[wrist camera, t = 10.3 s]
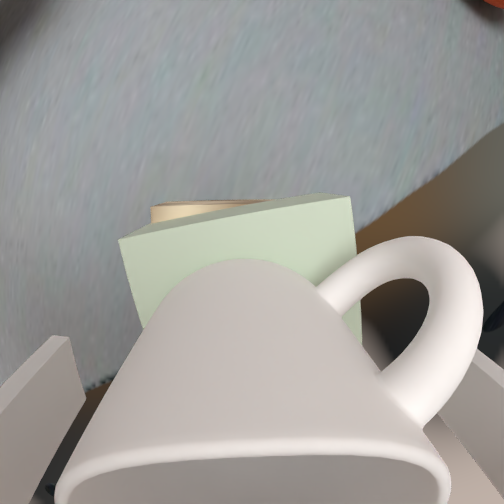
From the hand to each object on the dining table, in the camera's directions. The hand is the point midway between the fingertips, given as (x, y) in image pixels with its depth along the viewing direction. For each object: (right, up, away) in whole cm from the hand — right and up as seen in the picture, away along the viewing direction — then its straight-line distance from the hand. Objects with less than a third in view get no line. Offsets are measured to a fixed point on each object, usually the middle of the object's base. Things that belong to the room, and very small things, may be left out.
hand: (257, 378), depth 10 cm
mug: (+1, +1, +4) cm, 4 cm away
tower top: (0, +2, +9) cm, 9 cm away
